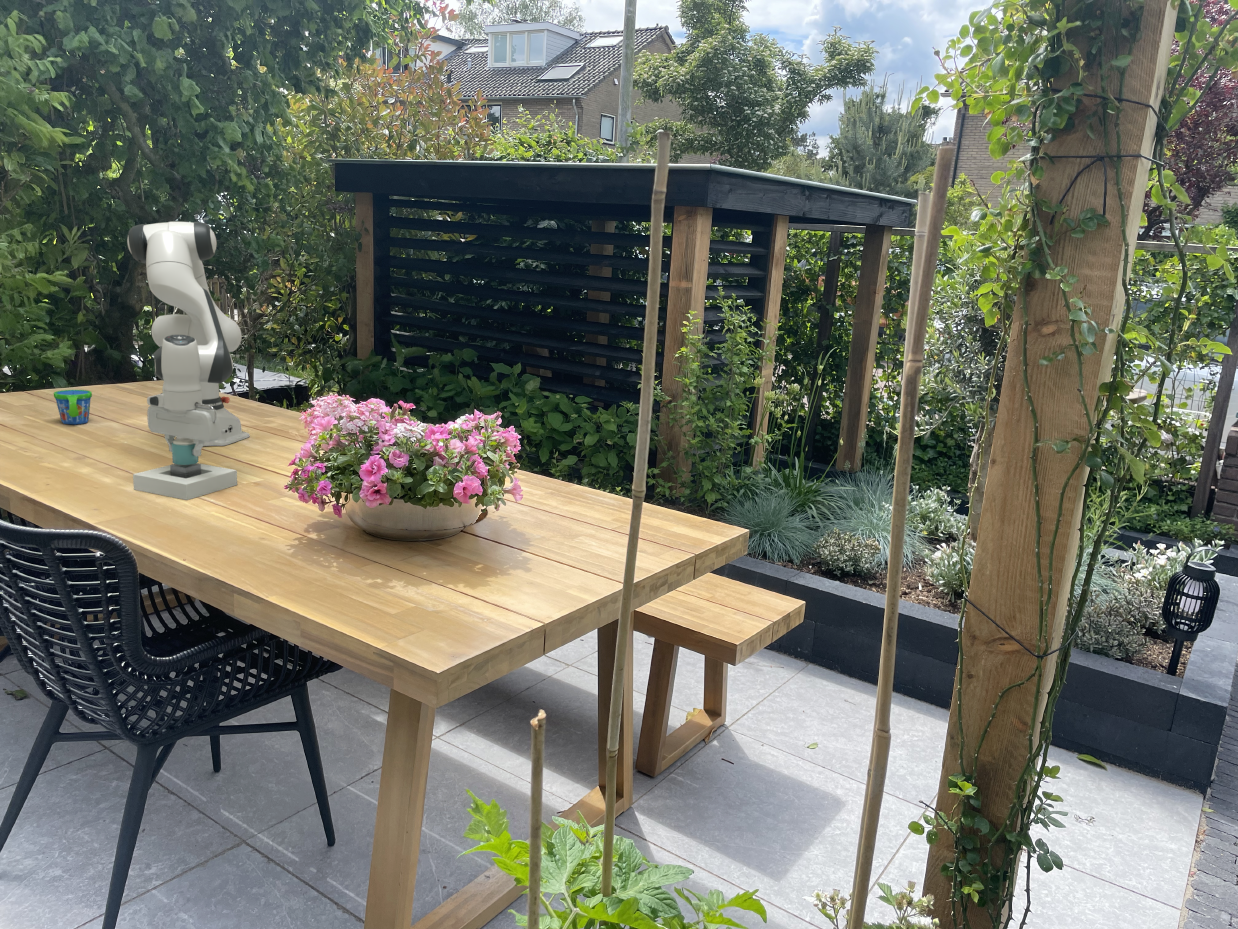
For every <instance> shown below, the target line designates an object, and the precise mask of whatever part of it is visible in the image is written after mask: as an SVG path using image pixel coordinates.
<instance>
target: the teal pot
mask: <svg viewBox="0 0 1238 929" xmlns="http://www.w3.org/2000/svg"><path fill="white" fill-rule="evenodd" d="M195 445H196V444H195V443H194V439H189V438H181V439H177V438H176V439H175V438H174V440H173V442H172V452H171V457H172V458H171V459H172V464H178V465H189V464H195V463H200V462H199V456H192V454H191V453H192V452H191V449H194V448H195Z"/></svg>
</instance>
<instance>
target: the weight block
mask: <svg viewBox="0 0 1238 929" xmlns="http://www.w3.org/2000/svg"><path fill="white" fill-rule="evenodd" d="M198 463H199V462H198ZM198 463H195V464H189V465H178V464H174V463H172V464H173V465H172V464H169V465H170V472H171V476H175V477H180V478H190V477H194V476H197V475H201V464H202V463H200V464H198Z"/></svg>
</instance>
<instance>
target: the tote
mask: <svg viewBox="0 0 1238 929" xmlns="http://www.w3.org/2000/svg"><path fill="white" fill-rule="evenodd" d="M173 464H174V463H172V464H168V465H164V466H161V467H156V468H152V469H149V470H144V471H140V472H136V473H132V481H133V482H132V483H133V484H132V485H133V490H135V491H140V492H144V493H148V494H154V495H160V496H164V497H170V498H173V499H180V500H184V501H189V500H193V499H196V498H199V497H201V496H204V495H205V496H206V495H208V494H212V493H215V492H218V491H222V490H225V489H228V488H231V487H235V486H237V485H238V471H237V470H236V469H232V468H226V467H221V466H215V465H210V464H205V463H200V462H198V464H201V475H197V476H194V477H190V478H180V477H175V476H171V472H170V465H173Z"/></svg>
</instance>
